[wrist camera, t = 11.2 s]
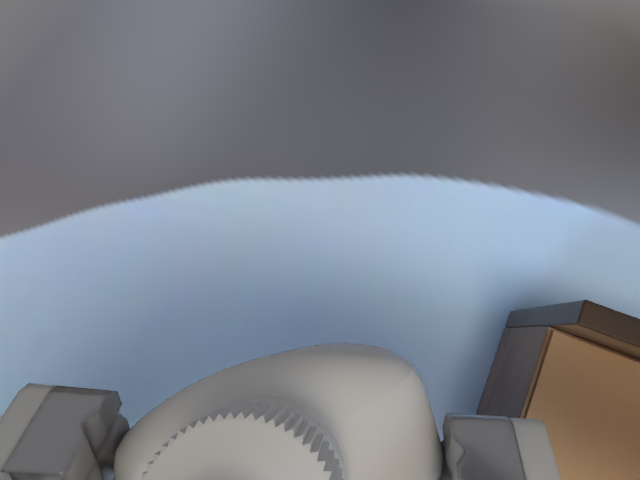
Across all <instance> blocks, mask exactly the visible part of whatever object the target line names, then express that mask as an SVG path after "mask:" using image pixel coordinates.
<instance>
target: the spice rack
mask: <svg viewBox="0 0 640 480" xmlns="http://www.w3.org/2000/svg"><path fill="white" fill-rule="evenodd" d="M505 327H506V328H504V331H503V334H502V337H501V340H500V343H499V346H498V349H497V352H496V355H495V358H494V361H493V364H492V367H491V370H490V373H489V376H488V379H487V382H486V385H485V388H484V391H483V394H482V397H481V400H480V403H479V406H478V409H477V412H476V415H491V416H507V418H527V419H539V420H541V421H542V422H543V423H544V425H545V426H546V430H547V433H548V437H549V440H550V443H551V447H552V450H553V454H554V457H555V460H556V464H557V467H558V471H559V474H560V477H561V480H640V319H637V318H635V317H632V316H629V315H626V314H624V313H621V312H618V311H615V310H613V309H610V308H607V307H604V306H602V305H599V304H596V303H593V302H591V301H588V300H581V301H574V302H568V303H561V304H554V305H547V306H541V307H534V308H527V309H520V310H514V311H510V314H509V317H508V320H507V323H506V326H505Z"/></svg>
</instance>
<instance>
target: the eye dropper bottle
mask: <svg viewBox="0 0 640 480" xmlns="http://www.w3.org/2000/svg"><path fill="white" fill-rule="evenodd" d="M442 462H443V451H442V447H441V442H440V438H439V434H438V430H437V427H436V423H435V420H434V416H433V413H432V410H431V406H430V403H429V400H428V397H427V394H426V391H425V388H424V385H423V382H422V379H421V378H420V376H419V375H418V373H417V372H416V370H415V369H414V367H413V366H412V365H411V364H410V363H409V362H408V361H406V360H404V359H402V358H401V357H399V356H397V355H395V354H393V353H391V352H390V351H388V350H385V349H383V348H380V347H375V346H370V345H362V344H349V343H336V344H322V345H314V346H308V347H303V348H298V349H294V350H290V351H286V352H281V353H277V354H273V355H269V356H265V357H261V358H257V359H253V360H250V361H247V362H243V363H240V364H237V365H235V366H232V367H229V368H227V369H224V370H221V371H219V372H216V373H214V374H212V375H210V376H208V377H205V378H203V379H201V380H199V381H197V382H195V383H194V384H192V385H190V386H188V387H186V388H184V389H183V390H181V391H179V392H178V393H176V394H175V395H173V396H171V397H170V398H168V399H167V400H165V401H164V402H163V403H161V404H160V405H158V406H157V407H156V408H154V409H153V410H152V411H150V412H149V413H148V414H147V415H145V416H144V417H143V418H142V419H140V420H139V421H138V422H137V423H136V424H135V425H134V426H133V427H132V428H131V429H130V430H129V431H128V432H127V433H126V434H125V436H124V437H123V439H122V440H121V442H120V444H119V446H118V448H117V450H116V453H115V460H114V477H115V480H439V478H440V476H441V473H442Z"/></svg>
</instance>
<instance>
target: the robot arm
mask: <svg viewBox="0 0 640 480" xmlns="http://www.w3.org/2000/svg"><path fill="white" fill-rule="evenodd" d="M121 405H122V402H121V400H120V397H119V395H118V392H117V391H109V390H99V389H88V388H77V387H66V386H57V385H44V384H30V383H29V384H27V385H26V386H25V387H23V388H22V389H21V390H20V391H19V392H18V393H17V395H16V396H15V398H14V399H13V401H12V402H11V404H10V405H9V407H8V408H7V410H6V411H5V413H4V414H3V416H2V417H1V419H0V480H115V477H114V460H115V453H116V450H117V448H118V446H119V444H120V442H121V440H122V439H123V437H124V436H125V434H126V433H127V432H128V431H129V430H130V428H129V424H128V421H127V419H125V418H124V417H123V416H122V415H120V414H119V413H118V411H119V409H120V407H121ZM443 435H444V440H443V441H442V442H441V447H442V451H443V462H442V473H441V476H440V478H439V480H561V477H560V474H559V471H558V467H557V464H556V460H555V457H554V454H553V450H552V447H551V443H550V440H549V437H548V433H547V430H546V426H545V425H544V423H543V422H542V421H541V420H539V419H527V418H507V416H491V415H472V414H454V413H447V414H446V416H445V418H444V423H443Z"/></svg>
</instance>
